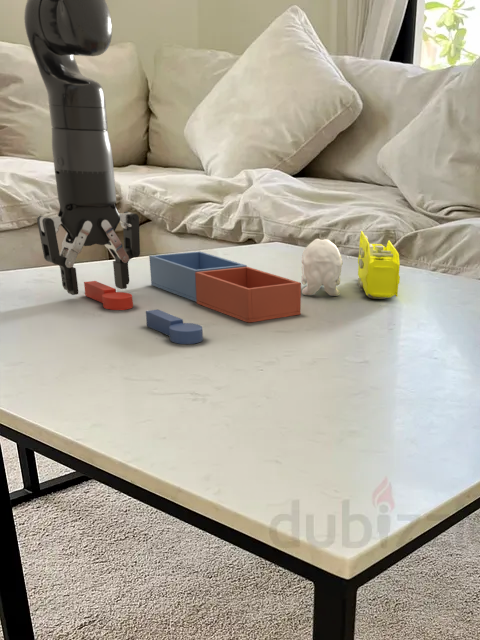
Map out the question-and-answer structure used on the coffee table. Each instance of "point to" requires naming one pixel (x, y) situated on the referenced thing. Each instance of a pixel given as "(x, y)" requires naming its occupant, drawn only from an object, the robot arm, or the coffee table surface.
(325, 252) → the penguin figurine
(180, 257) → the blue bin
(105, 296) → the red spoon
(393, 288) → the yellow toy chassis
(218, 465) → the coffee table surface
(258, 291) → the red bin
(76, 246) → the robot arm
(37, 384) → the coffee table surface
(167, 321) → the blue spoon
